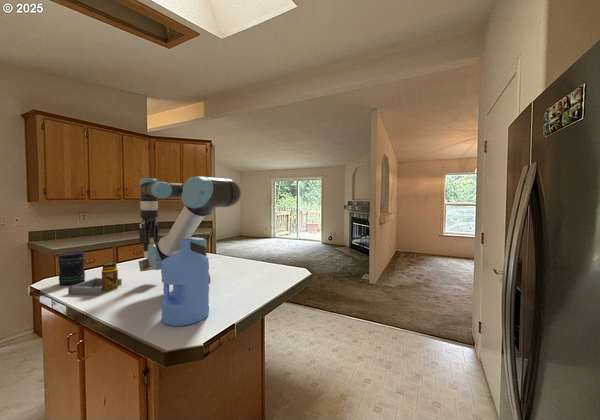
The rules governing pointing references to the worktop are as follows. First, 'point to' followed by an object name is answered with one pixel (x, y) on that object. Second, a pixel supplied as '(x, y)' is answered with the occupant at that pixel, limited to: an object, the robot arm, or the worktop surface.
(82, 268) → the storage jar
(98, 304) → the worktop surface
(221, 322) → the worktop surface
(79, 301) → the worktop surface
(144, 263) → the scraper
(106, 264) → the condiment
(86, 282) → the tray
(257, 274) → the worktop surface
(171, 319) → the water jug
